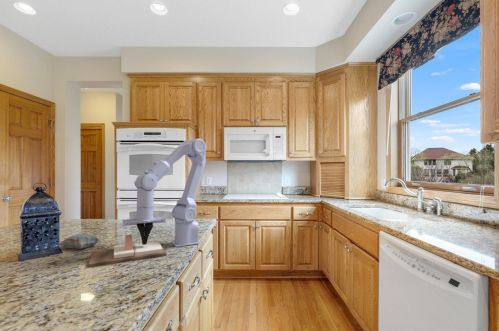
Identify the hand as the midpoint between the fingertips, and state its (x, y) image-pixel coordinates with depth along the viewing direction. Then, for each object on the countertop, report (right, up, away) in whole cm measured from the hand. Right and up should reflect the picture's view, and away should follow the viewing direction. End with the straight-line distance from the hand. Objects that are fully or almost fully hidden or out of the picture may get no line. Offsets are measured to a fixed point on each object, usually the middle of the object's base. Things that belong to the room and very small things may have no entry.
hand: (144, 243), depth 89 cm
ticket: (+1, -3, 0) cm, 3 cm away
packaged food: (-28, -3, +5) cm, 28 cm away
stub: (-6, -2, -3) cm, 7 cm away
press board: (-4, -3, -2) cm, 6 cm away
